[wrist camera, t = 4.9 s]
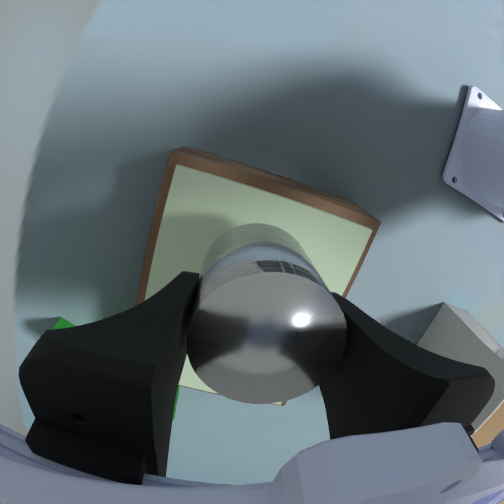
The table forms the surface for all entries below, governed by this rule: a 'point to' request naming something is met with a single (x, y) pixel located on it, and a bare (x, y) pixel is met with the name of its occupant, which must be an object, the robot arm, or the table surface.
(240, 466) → the table surface
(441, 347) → the grey rectangular block
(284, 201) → the walnut stand
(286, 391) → the grey metal cylinder
